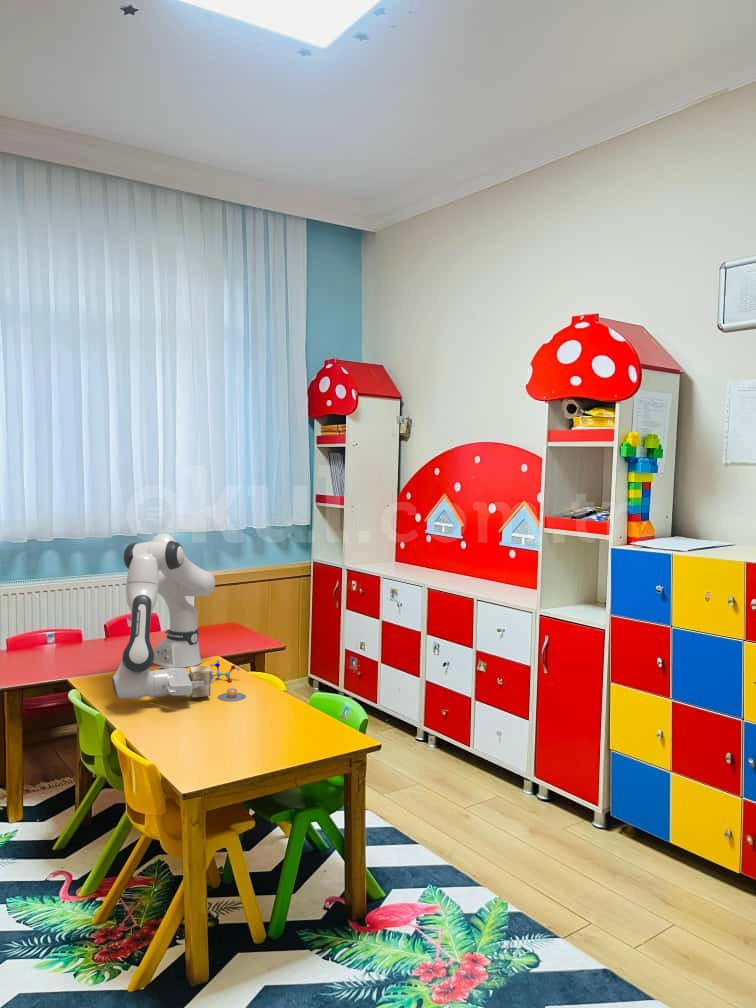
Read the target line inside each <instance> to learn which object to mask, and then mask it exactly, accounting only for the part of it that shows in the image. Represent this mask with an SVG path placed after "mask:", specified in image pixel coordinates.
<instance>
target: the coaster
mask: <svg viewBox="0 0 756 1008" xmlns="http://www.w3.org/2000/svg"><path fill="white" fill-rule="evenodd" d="M246 698H247V695H246V694H245V693H242V692H237V697H236V698H227V692H225V693H221V694H219V695H218V696H217V699H218V700H219V701H222V702H227V703H228V702H230V703H231V702H232V703H233V702H239V701H243V700H245V699H246Z"/></svg>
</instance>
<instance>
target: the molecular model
mask: <svg viewBox="0 0 756 1008" xmlns="http://www.w3.org/2000/svg"><path fill="white" fill-rule="evenodd" d="M220 661H221V660H220V659H219V658H218V659H216V661H215V662H216V663H212V662H211V663H210V664H209V667H214V666H215V667H216V669H217V672H216V673H215V674H214V670H213V669H210V671H211V684H213V685H214V681H213V679H214V677H216V680H219V679H221V678H220V677H221V676H224V677H226V680H227V683H229V684H230V683H232V682H233V680H232V679H231V677H230V676H231V672H232V670H236V671H240V670H241V667H239V666H237V667H236V666H235V665H231V666H230V669H229V671H227V672H225V673H222V672H221V671H220V666H221V664H220Z"/></svg>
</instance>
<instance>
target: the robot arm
mask: <svg viewBox="0 0 756 1008" xmlns="http://www.w3.org/2000/svg"><path fill="white" fill-rule="evenodd" d="M123 564H124V566H125V568H127V569H128V573H127V576H126V577H127V578H126V585H125V594H126V595H125V596H126V604H127V606H128V607H129V610H130V615H131V621H130V635H129V641H128V643H127V645H126V647H125V648H124V650H123V651H122V652H123V653H122V658H121V660H120V663H119V666H118V668H117V670H116V672H115V673H114V675H113V676H112V678H111V681H112V689H113V692H114V694H115V696H116V697H117V698H119V699H121V700H122V699H124V700H125V699H126V700H130V699H131V700H133V699H134V700H135V699H141V698H145V697H150V698H155V697H156V698H157V697H167V696H168V695H170V696H189V695H190V696H191V694H192V689H194V688H197V687H200V686H204V680H199V681H196V682H194V681H192V682H191V680H190V672H188V670H187V668H190V667H195V666H199V665H200V664H201V663H202V659H201V658H202V657H201V653H200V645H199V637H200V636H199V635H200V634H199V633H200V631H199V630H200V629H199V628H198V625H199V624H198V623H199V622H198V621H199V620H198V619H199V618H198V617H199V616H198V615H199V613H198V610H197V608H196V607H195V606H194V605H192V604H191V603H189V602H188V600H187V598H186V597H205V596H206V597H207V596H210V595H211V594H212V593H213V591H214V590H215V587H216V578H215V576H214V574H213V573H212V572H211V571H208V570H206V569H203V568H201V567H199V566H198V565H197V564H195V563H193V561H191V560H189V558H188V557H187V556H186V554H185V551H184V548H183V546H182V544H180V542H178V541H177V540H176V539H175V538H174V537H173V536H172V535H171V534H168V533H159V534H156V535H155V536H154V537H153V538H152V539H151V541H142V542H134V543H130V544H128V545H127V546H126V547H125V549H124V551H123ZM159 595H160V596H161V597H162V598H163V600H164V602H165V604H166V605H167V608H168V613H169V614H168V615H169V629H167V630H165V631H164V634H166V637H165V638H164V639H163V640H162V641H160V642H158V644H156V645H155V647H154V650H153V646H152V644H151V640H150V639H151V638H150V634H151V620H152V619H151V617H152V612H153V610H154V607H155V605H156V603H157V599H158V596H159ZM152 664H154V665H156V666H160V667H158V669H156V670H150V667H151V666H152Z"/></svg>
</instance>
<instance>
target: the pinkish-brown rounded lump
mask: <svg viewBox="0 0 756 1008" xmlns="http://www.w3.org/2000/svg"><path fill="white" fill-rule="evenodd" d="M226 693H227V698H236V697H237V693H238V689H237V688H232V687H231V688H227V689H226Z"/></svg>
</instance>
